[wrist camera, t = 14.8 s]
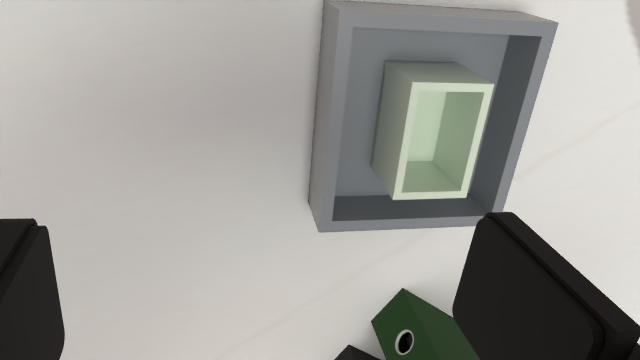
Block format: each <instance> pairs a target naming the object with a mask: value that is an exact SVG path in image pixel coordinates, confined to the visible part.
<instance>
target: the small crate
mask: <svg viewBox="0 0 640 360" xmlns="http://www.w3.org/2000/svg"><path fill="white" fill-rule="evenodd" d="M493 88H494V84H493V83H492V82H490V81H488V80H486V79H485V78H483V77H481V76H479V75H478V74H476V73H474V72H472V71H470V70H469V69H467V68H465V67H463V66H462V65H460V64H458V63H456V62H429V61H399V60H385V61H384V68H383V76H382V83H381V90H380V97H379V104H378V112H377V119H376V126H375V133H374V140H373V148H372V155H371V162H370V166H371V167H372V169H373V170H374V172H375V174H376V175H377V177H378V178H379V180H380V181H381V183H382V184H383V186H384V187H385V189H386V190H387V192H388V194H389V195H390V197H391V198H392V200H409V199H442V198H466V196H467V192H468V188H469V184H470V180H471V176H472V172H473V168H474V164H475V160H476V156H477V152H478V148H479V144H480V140H481V136H482V132H483V128H484V124H485V120H486V116H487V112H488V108H489V104H490V100H491V96H492V92H493Z"/></svg>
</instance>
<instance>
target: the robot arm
mask: <svg viewBox="0 0 640 360" xmlns="http://www.w3.org/2000/svg"><path fill="white" fill-rule="evenodd" d="M452 312H453V317H454V320H455V322H456V323H457V325H458V326H459V328H460V330H461V331H462V333H463V334H464V336H465V337H466V339H467V340H468V342H469V343H470V345H471V346H472V348H473V350H474V351H475V353H476V354H477V356H478V357H479V359H480V360H640V345H639V344H638V343H637V341H638V339H639V338H640V326H639V325H638V324H637V323H636V322H635V321H634V320H632V319H631V318H630V317H629V316H628V315H627V314H626V313H625V312H623V311H622V310H621V309H620V308H619V307H618V306H617V305H616V304H615V303H613V302H612V301H611V300H610V299H609V298H608V297H607V296H606V295H605V294H603V293H602V292H601V291H600V290H599V289H598V288H597V287H596V286H594V285H593V284H592V283H591V282H590V281H589V280H588V279H587V278H586V277H584V276H583V275H582V274H581V273H580V272H579V271H578V270H577V269H576V268H574V267H573V266H572V265H571V264H570V263H569V262H568V261H567V260H565V259H564V258H563V257H562V256H561V255H560V254H559V253H558V252H557V251H555V250H554V249H553V248H552V247H551V246H550V245H549V244H548V243H547V242H545V241H544V240H543V239H542V238H541V237H540V236H539V235H538V234H536V233H535V232H534V231H533V230H532V229H531V228H530V227H529V226H528V225H526V224H525V223H524V222H523V221H522V220H521V219H520V218H519V217H518V216H516V215H515V214H514V213H512V212H489V213H487V214H485V216H484V217H483V218H482V219H480V220H479V221H478V222H477V225H476V228H475V232H474V235H473V238H472V242H471V245H470V249H469V252H468V255H467V259H466V262H465V266H464V269H463V272H462V276H461V279H460V283H459V286H458V289H457V293H456V296H455V300H454V303H453V308H452ZM64 338H65V333H64V325H63V319H62V313H61V307H60V300H59V294H58V288H57V282H56V276H55V269H54V263H53V257H52V251H51V245H50V238H49V233H48V229H47V227H46V226H38V225H37V222H36V220H34V219H0V360H59V359H60V356H61V353H62V350H63V346H64Z"/></svg>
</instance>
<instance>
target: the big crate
mask: <svg viewBox="0 0 640 360" xmlns="http://www.w3.org/2000/svg"><path fill="white" fill-rule="evenodd" d="M557 26H558V22H555V21H551V20H547V19H544V18H540V17H537V16H533V15H530V14H526V13H523V12H517V11H501V10H485V9H469V8H453V7H436V6H420V5H404V4H388V3H372V2H356V1H340V0H324V8H323V20H322V33H321V45H320V58H319V71H318V83H317V96H316V108H315V121H314V134H313V146H312V159H311V171H310V184H309V197H308V202H309V205H310V208H311V211H312V214H313V217H314V220H315V223H316V226H317V229H318V232H343V231H367V230H391V229H416V228H440V227H464V226H476V225H477V222H478V221H479V220H480V219H482V218H483V217H484V216H485V214H487V213H489V212H503V208H504V205H505V202H506V198H507V195H508V191H509V188H510V185H511V181H512V178H513V175H514V171H515V168H516V165H517V161H518V158H519V154H520V151H521V148H522V144H523V141H524V138H525V134H526V131H527V127H528V124H529V121H530V117H531V114H532V111H533V107H534V104H535V101H536V97H537V94H538V90H539V87H540V84H541V80H542V77H543V74H544V70H545V67H546V64H547V60H548V57H549V53H550V50H551V47H552V43H553V40H554V37H555V33H556V30H557ZM385 60H399V61H429V62H456V63H458V64H460V65H462V66H463V67H465V68H467V69H469V70H470V71H472V72H474V73H476V74H478V75H479V76H481V77H483V78H485V79H486V80H488V81H490V82H492V83H493V84H494V88H493V92H492V96H491V100H490V104H489V108H488V112H487V116H486V120H485V124H484V128H483V132H482V136H481V140H480V144H479V148H478V152H477V156H476V160H475V164H474V168H473V172H472V176H471V180H470V184H469V188H468V192H467V196H466V198H442V199H409V200H392V198H391V197H390V195H389V194H388V192H387V190H386V189H385V187H384V186H383V184H382V183H381V181H380V180H379V178H378V177H377V175H376V174H375V172H374V170H373V169H372V167H371V166H370V162H371V155H372V148H373V140H374V133H375V126H376V119H377V112H378V104H379V97H380V90H381V83H382V76H383V68H384V61H385Z"/></svg>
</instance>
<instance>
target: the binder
mask: <svg viewBox="0 0 640 360" xmlns="http://www.w3.org/2000/svg"><path fill="white" fill-rule="evenodd" d="M371 322H372V325H373V327H374V330H375V332H376V335H377V337H378V340H379V342H380V345H381V348H382V350H383V353H384V355H385V358H386V360H480V359H479V357H478V356H477V354H476V353H475V351H474V350H473V348H472V346H471V345H470V343H469V342H468V340H467V339H466V337H465V336H464V334H463V333H462V331H461V330H460V328H459V326H458V325H457V323H456V322H455V320H454V318H453V317H451V316H449V315H448V314H446V313H444V312H443V311H441V310H439V309H438V308H436V307H434V306H432V305H431V304H429V303H427V302H426V301H424V300H422V299H421V298H419V297H417V296H415V295H414V294H412V293H410V292H409V291H407V290H405V289H404V288H402V289H401V290H400V291H399V292H398V293H397V294H396V295H395V297H394V298H393V299H392V300H391V301H390V302H389V303H388V304H387V305H386V306H385V307H384V308H383V309H382V310H381V311H380V312H379V313H378V314H377V315H376V317H375V318H374V319H373V320H372V321H371ZM406 332H410V334H409V335H408V334H406ZM335 360H380V359H378V358H376V357H374V356H372V355H370V354H368V353H366V352H363V351H361V350H359V349H357V348H355V347H353V346H351V345H348V346H347V347H346V348H345V349H344V350H343V351H342V352H341V353H340V354H339V355H338V356H337V358H336V359H335Z"/></svg>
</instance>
